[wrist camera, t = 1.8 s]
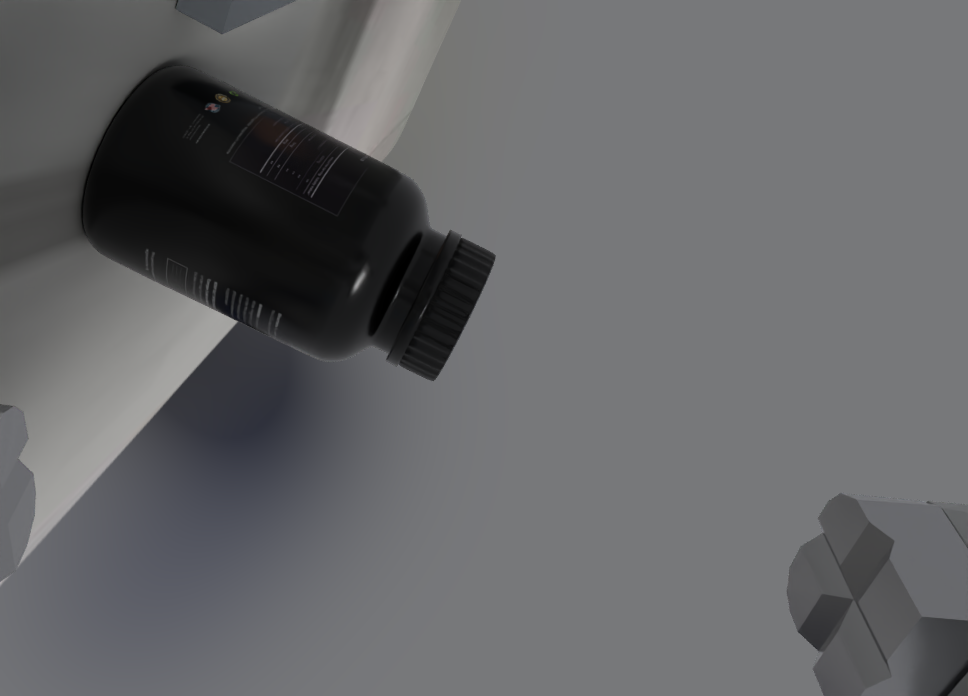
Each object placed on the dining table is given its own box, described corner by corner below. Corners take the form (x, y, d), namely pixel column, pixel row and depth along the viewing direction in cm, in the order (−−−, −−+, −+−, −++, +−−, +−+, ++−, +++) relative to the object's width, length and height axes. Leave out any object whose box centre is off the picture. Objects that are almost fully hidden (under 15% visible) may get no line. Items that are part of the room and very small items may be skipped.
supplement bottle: (169, 190, 33) (450, 334, 34) (62, 284, 28) (398, 452, 29) (208, 27, 29) (527, 198, 30) (90, 101, 24) (483, 305, 25)
